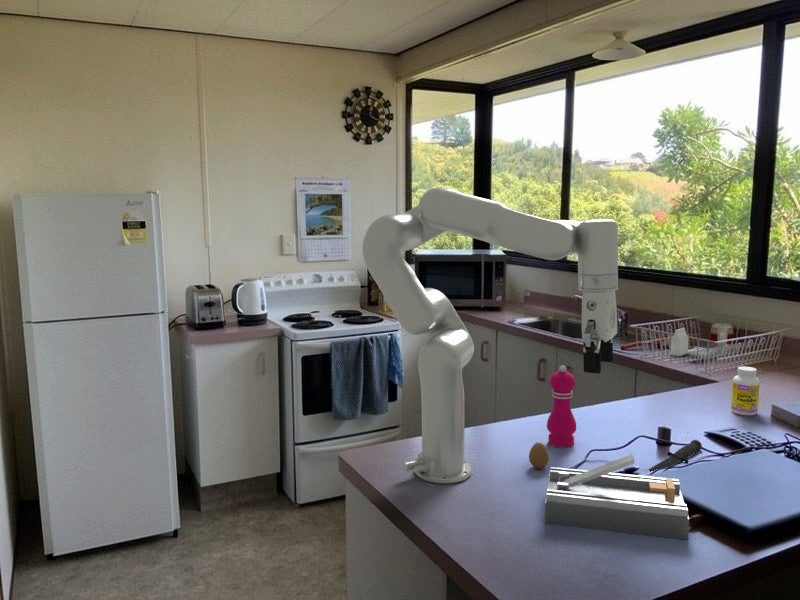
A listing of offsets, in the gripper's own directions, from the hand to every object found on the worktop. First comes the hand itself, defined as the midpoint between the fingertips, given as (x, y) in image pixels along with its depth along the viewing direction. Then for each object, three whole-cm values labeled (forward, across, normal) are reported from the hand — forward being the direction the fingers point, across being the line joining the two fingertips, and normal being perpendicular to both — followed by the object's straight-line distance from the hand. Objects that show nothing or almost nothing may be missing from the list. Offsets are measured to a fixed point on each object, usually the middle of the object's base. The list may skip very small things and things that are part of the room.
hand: (598, 366), depth 129 cm
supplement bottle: (+28, +72, -22) cm, 80 cm away
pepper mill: (+27, +24, +16) cm, 39 cm away
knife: (+28, +25, -10) cm, 39 cm away
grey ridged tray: (+27, -7, -4) cm, 28 cm away
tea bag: (+28, +138, +4) cm, 141 cm away
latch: (+23, -5, -13) cm, 27 cm away
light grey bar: (+20, -8, -2) cm, 21 cm away
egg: (+27, +7, +15) cm, 32 cm away
